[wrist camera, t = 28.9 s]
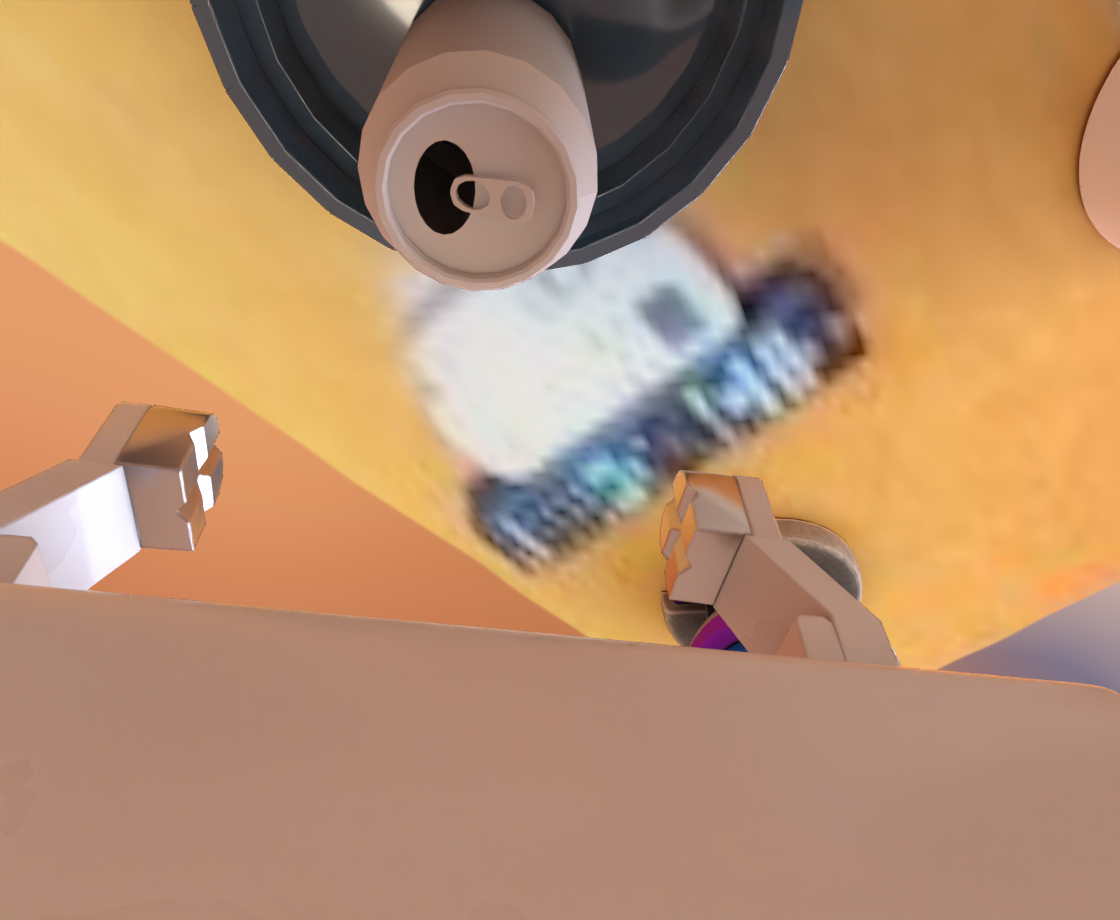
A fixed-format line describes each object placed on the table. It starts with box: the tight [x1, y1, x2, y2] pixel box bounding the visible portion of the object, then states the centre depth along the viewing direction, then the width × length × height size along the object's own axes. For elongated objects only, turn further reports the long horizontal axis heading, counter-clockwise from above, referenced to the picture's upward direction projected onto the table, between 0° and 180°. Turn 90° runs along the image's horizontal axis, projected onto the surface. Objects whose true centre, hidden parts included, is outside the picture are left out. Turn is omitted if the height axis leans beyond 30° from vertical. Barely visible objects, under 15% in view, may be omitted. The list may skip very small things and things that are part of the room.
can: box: [358, 0, 597, 291], centre depth 29 cm, size 8×8×12 cm
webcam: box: [661, 518, 901, 667], centre depth 49 cm, size 13×13×15 cm
